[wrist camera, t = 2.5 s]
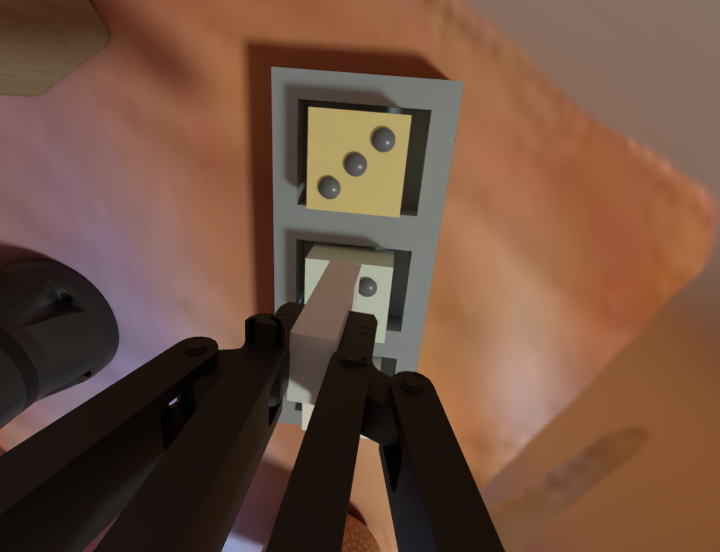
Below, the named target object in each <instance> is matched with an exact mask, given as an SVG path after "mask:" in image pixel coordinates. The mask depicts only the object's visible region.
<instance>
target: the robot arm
mask: <svg viewBox="0 0 720 552" xmlns="http://www.w3.org/2000/svg"><path fill="white" fill-rule="evenodd" d="M361 266H362V265H360V264H354V263H347V262H341V261H334V260H330V262H329V263H328V265H327V267H326V269H325V271H324V272H323V274H322V276H321V278H320V280H319V281H318V283H317V285H316V287H315V288H314V290H313V292H312V294H311V296H310V297H309V299H308V301H307V303H306V304H301V303H295V302H287V303H285V304H283V305H282V306H280V307H279V308H278V310H277V311H276V313H275V314H265V313H264V314H256V315H254V316H251V317H249V318H248V319H246V320H245V343H244V345H243V346H242V347H241V348H239V349H229V350H218V344H217V342H216V341H215V340H213V339H211V338H207V337H192V338H187V339H185V340H182V341H180V342H178V343H177V344H175V345H174V346H172V347H171V348H169V349H167V350H166V351H164V352H163V353H161V354H160V355H158V356H156V357H155V358H153V359H152V360H150V361H149V362H147V363H145V364H144V365H142V366H141V367H139V368H138V369H136V370H135V371H133V372H131V373H130V374H128V375H127V376H125V377H124V378H122V379H120V380H119V381H117V382H116V383H114V384H113V385H111V386H109V387H108V388H106V389H105V390H103V391H102V392H100V393H99V394H97V395H95V396H94V397H92V398H91V399H89V400H88V401H86V402H84V403H83V404H81V405H80V406H78V407H77V408H75V409H73V410H72V411H70V412H69V413H67V414H66V415H64V416H63V417H61V418H59V419H58V420H56V421H55V422H53V423H52V424H50V425H48V426H47V427H45V428H44V429H42V430H41V431H39V432H37V433H36V434H34V435H33V436H31V437H30V438H28V439H26V440H25V441H23V442H22V443H20V444H19V445H17V446H16V447H14V448H12V449H11V450H9V451H8V452H6V453H5V454H3V455H1V456H0V552H82V551H83V550H84V549H85V548H86V547H87V546H88V545H89V544H90V543H91V542H92V541H93V540H94V539H95V538H96V537H97V536H98V535H99V534H100V533H101V532H102V531H103V530H104V529H105V528H106V527H107V526H108V525H109V524H110V523H111V522H112V521H113V520H114V519H115V518H117V516H119V517H118V518H117V520H116V521H115V522H114V524H113V525H112V526H111V528H110V529H109V531H108V532H107V533H106V535H105V536H104V537H103V539H102V540H101V542H100V543H99V544H98V546H97V547H96V549H95V550H94V551H93V552H221V551H222V549H223V546H224V544H225V542H226V539H227V537H228V535H229V532H230V530H231V528H232V525H233V523H234V521H235V519H236V516H237V514H238V512H239V509H240V507H241V505H242V502H243V500H244V498H245V495H246V493H247V491H248V488H249V486H250V484H251V481H252V479H253V477H254V475H255V472H256V470H257V468H258V465H259V463H260V461H261V458H262V456H263V454H264V451H265V449H266V447H267V444H268V442H269V440H270V438H271V435H272V433H273V431H274V428H275V426H276V424H277V421H278V419H279V417H280V414H281V412H282V407H283V397H284V395H285V393H286V390H287V400H288V401H294V402H300V403H305V404H311V405H314V408H313V411H312V414H311V417H310V420H309V423H308V426H307V429H306V432H305V435H304V438H303V441H302V444H301V447H300V450H299V453H298V456H297V459H296V462H295V465H294V468H293V471H292V474H291V477H290V480H289V483H288V486H287V489H286V492H285V495H284V498H283V500H282V503H281V506H280V509H279V512H278V515H277V518H276V521H275V524H274V527H273V530H272V533H271V536H270V539H269V542H268V545H267V548H266V551H265V552H341V551H342V545H343V538H344V532H345V526H346V520H347V514H348V507H349V501H350V495H351V489H352V483H353V476H354V470H355V464H356V458H357V452H358V445H359V440H360V434H361V435H363V436H365V437H367V438H369V439H371V440H373V441H375V442H377V443H379V452H380V458H381V463H382V468H383V473H384V479H385V484H386V489H387V494H388V499H389V505H390V510H391V515H392V520H393V525H394V531H395V536H396V541H397V546H398V551H399V552H505V551H504V548H503V546H502V544H501V541H500V539H499V537H498V534H497V532H496V530H495V527H494V525H493V523H492V520H491V518H490V516H489V513H488V511H487V509H486V507H485V504H484V502H483V499H482V497H481V495H480V492H479V490H478V488H477V486H476V483H475V481H474V479H473V476H472V474H471V472H470V469H469V467H468V465H467V462H466V460H465V458H464V455H463V453H462V451H461V448H460V446H459V444H458V441H457V439H456V437H455V434H454V432H453V430H452V427H451V425H450V423H449V420H448V418H447V416H446V413H445V411H444V409H443V406H442V404H441V402H440V400H439V397H438V395H437V393H436V390H435V388H434V386H433V384H432V383H431V381H430V380H429V379H428V378H427V377H425V376H424V375H422V374H419V373H417V372H412V371H401V372H398V373H396V374H394V375H393V377H390V376H388V375H386V374H384V373H382V372H381V371H379V370H378V369H377V368H376V367H375V366H374V364H373V361H372V357H373V350H374V344H375V338H376V331H377V325H378V321H377V319H376V317H375V316H374V314H368V313H362V312H356V306H357V298H358V290H359V282H360V274H361ZM118 343H119V332H118V326H117V323H116V319H115V317H114V314H113V312H112V310H111V308H110V307H109V305H108V303H107V302H106V300H105V299H104V298H103V296H102V295H101V294H100V293H99V292H98V291H97V289H96V288H95V287H94V286H93V285H92V284H90V283H89V282H88V281H87V280H86V279H84V278H83V277H82V276H80V275H79V274H77V273H76V272H74V271H73V270H71V269H69V268H67V267H65V266H63V265H60V264H58V263H55V262H52V261H48V260H44V259H37V258H24V259H18V260H15V261H12V262H9V263H7V264H4V265H1V266H0V429H1V428H3V427H4V426H5V425H6V424H8V423H9V422H10V421H11V420H13V419H14V418H15V417H17V416H18V415H19V414H20V413H21V412H23V411H24V410H25V409H27V408H28V407H29V406H30V405H32V404H33V403H34V402H36V401H38V400H41V399H43V398H46V397H48V396H50V395H53V394H55V393H58V392H60V391H62V390H65V389H67V388H70V387H72V386H75V385H77V384H80V383H82V382H84V381H86V380H88V379H90V378H91V377H93V376H94V375H96V374H97V373H98V372H99V371H101V370H102V369H103V368H104V367H105V366H106V365H108V364H109V363H110V362H111V360H112V359H113V358H114V356H115V354H116V351H117V348H118ZM176 397H177V401H176V402H175V403H173V404H172V405H170V406H169V403H170V402H171V401H173V400H174V399H175V398H176Z"/></svg>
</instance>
